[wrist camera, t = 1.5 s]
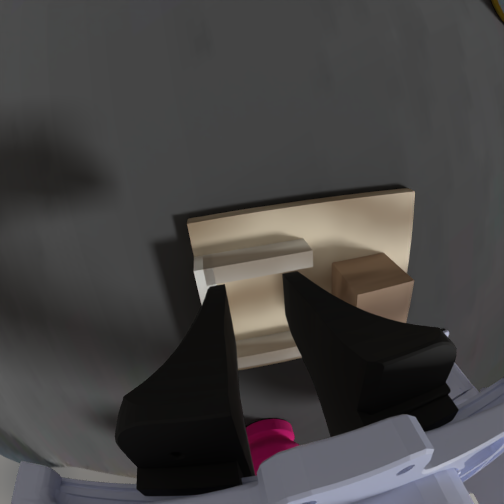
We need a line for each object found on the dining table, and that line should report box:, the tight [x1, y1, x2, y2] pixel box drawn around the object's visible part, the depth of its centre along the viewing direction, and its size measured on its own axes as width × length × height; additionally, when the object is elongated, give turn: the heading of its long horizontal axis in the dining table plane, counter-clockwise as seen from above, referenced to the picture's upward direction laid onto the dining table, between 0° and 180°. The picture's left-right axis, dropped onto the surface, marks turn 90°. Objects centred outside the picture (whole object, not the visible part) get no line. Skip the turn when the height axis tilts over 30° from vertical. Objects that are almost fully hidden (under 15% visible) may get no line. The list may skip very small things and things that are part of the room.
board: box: [187, 188, 415, 370], centre depth 23 cm, size 14×17×3 cm
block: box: [331, 253, 414, 323], centre depth 22 cm, size 4×4×4 cm
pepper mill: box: [246, 419, 300, 475], centre depth 24 cm, size 7×7×20 cm
